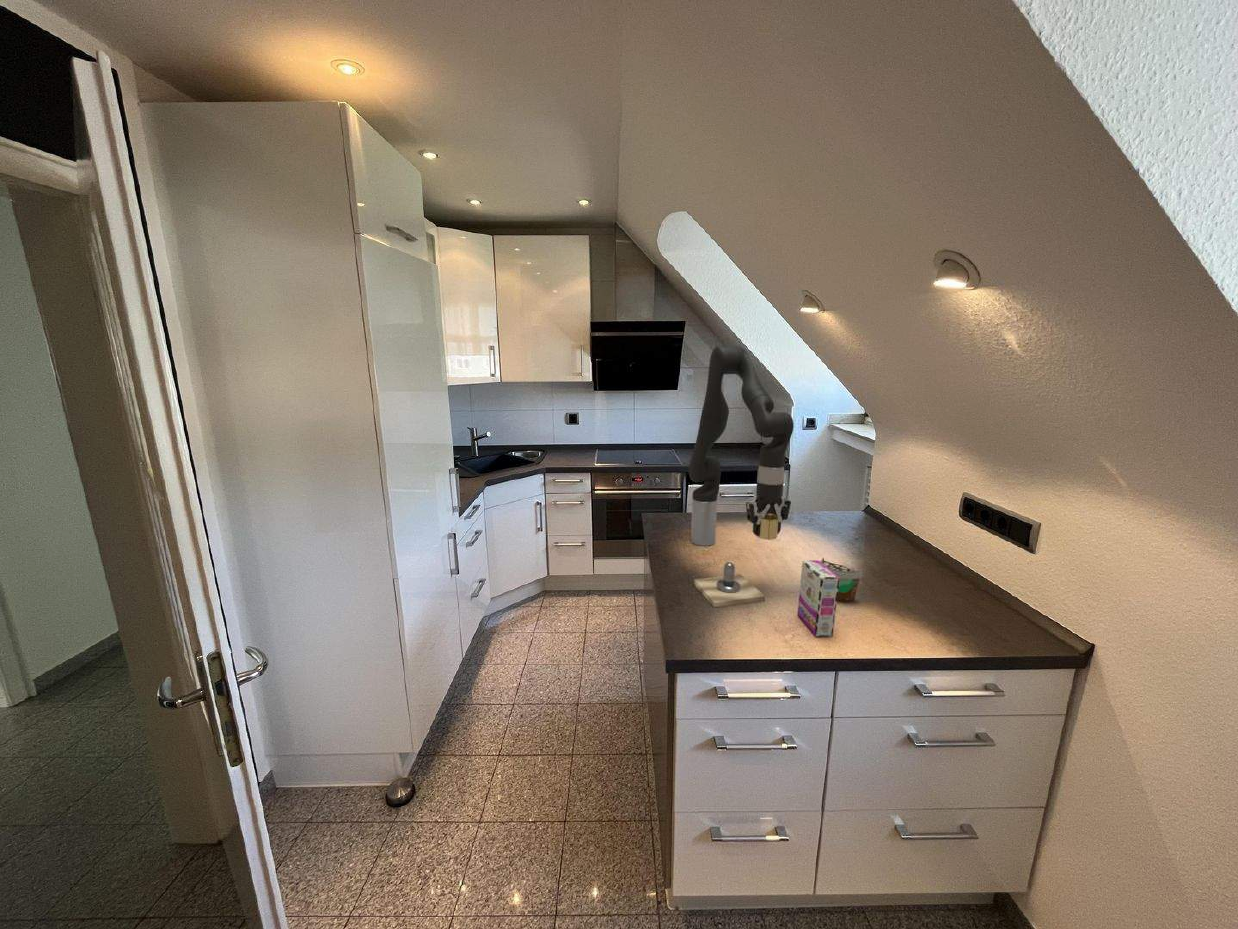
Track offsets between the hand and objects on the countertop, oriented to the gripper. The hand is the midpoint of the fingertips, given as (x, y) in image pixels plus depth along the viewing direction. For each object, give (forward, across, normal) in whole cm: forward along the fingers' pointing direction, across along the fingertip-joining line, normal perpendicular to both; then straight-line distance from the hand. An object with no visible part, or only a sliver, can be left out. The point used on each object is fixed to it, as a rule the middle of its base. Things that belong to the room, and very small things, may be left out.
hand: (766, 533), depth 146 cm
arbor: (+16, +12, 0) cm, 20 cm away
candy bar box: (+18, -2, +23) cm, 29 cm away
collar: (+1, 0, 0) cm, 1 cm away
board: (+17, +12, 0) cm, 21 cm away
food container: (+18, -17, +11) cm, 27 cm away
